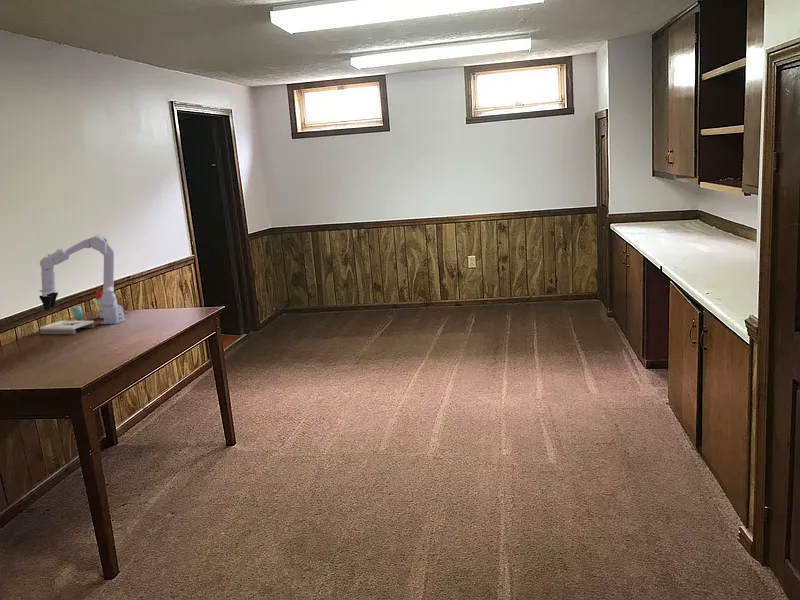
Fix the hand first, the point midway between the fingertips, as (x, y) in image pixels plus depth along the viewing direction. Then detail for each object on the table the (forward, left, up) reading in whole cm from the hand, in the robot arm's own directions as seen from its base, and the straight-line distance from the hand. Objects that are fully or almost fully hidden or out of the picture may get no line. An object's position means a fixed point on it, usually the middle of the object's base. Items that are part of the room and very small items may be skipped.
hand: (49, 308), depth 338 cm
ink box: (-10, -28, -11) cm, 32 cm away
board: (-10, +1, -11) cm, 15 cm away
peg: (-7, -10, -11) cm, 16 cm away
